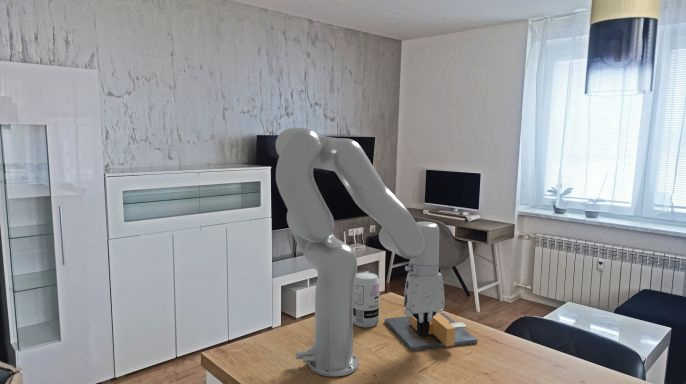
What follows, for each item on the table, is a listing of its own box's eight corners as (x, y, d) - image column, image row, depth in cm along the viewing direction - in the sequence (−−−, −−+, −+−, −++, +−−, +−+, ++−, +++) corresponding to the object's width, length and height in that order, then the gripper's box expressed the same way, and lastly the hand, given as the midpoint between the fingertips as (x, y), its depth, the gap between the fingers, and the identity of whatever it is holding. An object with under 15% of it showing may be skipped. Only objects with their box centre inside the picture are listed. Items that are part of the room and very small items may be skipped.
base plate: (411, 351, 124) (412, 319, 123) (384, 322, 143) (385, 294, 142) (482, 342, 130) (484, 311, 129) (448, 316, 149) (449, 288, 148)
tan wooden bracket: (435, 348, 122) (435, 330, 122) (408, 322, 139) (409, 306, 139) (465, 344, 125) (466, 327, 124) (435, 319, 142) (436, 304, 141)
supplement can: (353, 317, 147) (354, 271, 145) (379, 318, 146) (380, 272, 144) (350, 327, 139) (351, 278, 137) (377, 329, 138) (379, 280, 136)
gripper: (403, 275, 117) (402, 344, 120) (456, 270, 121) (454, 336, 123) (392, 267, 124) (392, 332, 127) (442, 262, 128) (441, 325, 131)
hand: (423, 334), depth 125 cm, fingers closed
